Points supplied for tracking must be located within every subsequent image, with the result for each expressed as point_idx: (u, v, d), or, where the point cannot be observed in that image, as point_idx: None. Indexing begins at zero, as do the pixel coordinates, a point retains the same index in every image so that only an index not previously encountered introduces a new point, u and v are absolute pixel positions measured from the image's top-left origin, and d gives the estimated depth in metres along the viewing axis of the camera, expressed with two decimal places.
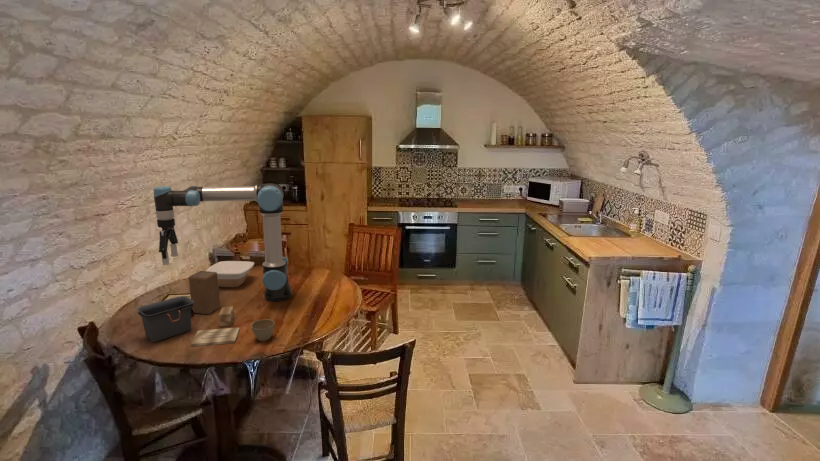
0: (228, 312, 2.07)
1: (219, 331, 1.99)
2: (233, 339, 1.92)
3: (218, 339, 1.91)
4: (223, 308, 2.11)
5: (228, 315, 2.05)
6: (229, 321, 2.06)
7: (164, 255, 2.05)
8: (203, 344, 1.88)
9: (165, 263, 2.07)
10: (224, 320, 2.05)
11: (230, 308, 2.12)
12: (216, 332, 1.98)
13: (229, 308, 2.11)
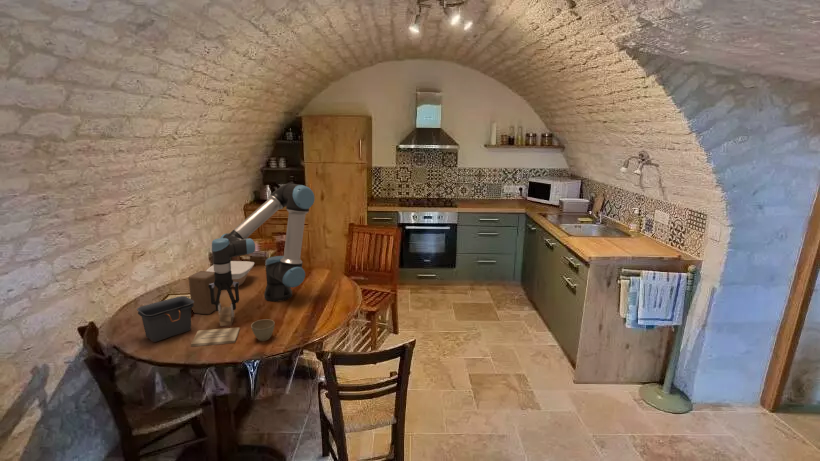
0: (228, 312, 2.07)
1: (219, 331, 1.99)
2: (233, 339, 1.92)
3: (218, 339, 1.91)
4: (223, 308, 2.11)
5: (228, 315, 2.05)
6: (229, 321, 2.06)
7: None
8: (203, 344, 1.88)
9: None
10: (224, 320, 2.05)
11: (230, 308, 2.11)
12: (216, 332, 1.98)
13: (229, 308, 2.11)
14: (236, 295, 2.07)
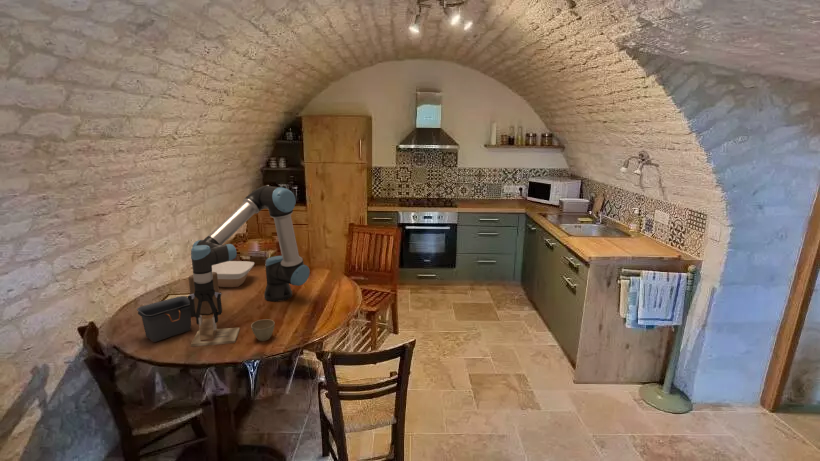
0: (209, 325, 1.91)
1: (219, 331, 1.99)
2: (233, 339, 1.92)
3: (218, 339, 1.91)
4: (204, 320, 1.95)
5: (209, 328, 1.89)
6: (210, 334, 1.90)
7: None
8: (203, 344, 1.88)
9: None
10: (205, 333, 1.89)
11: (212, 320, 1.95)
12: (216, 332, 1.98)
13: (211, 320, 1.95)
14: (218, 307, 1.91)
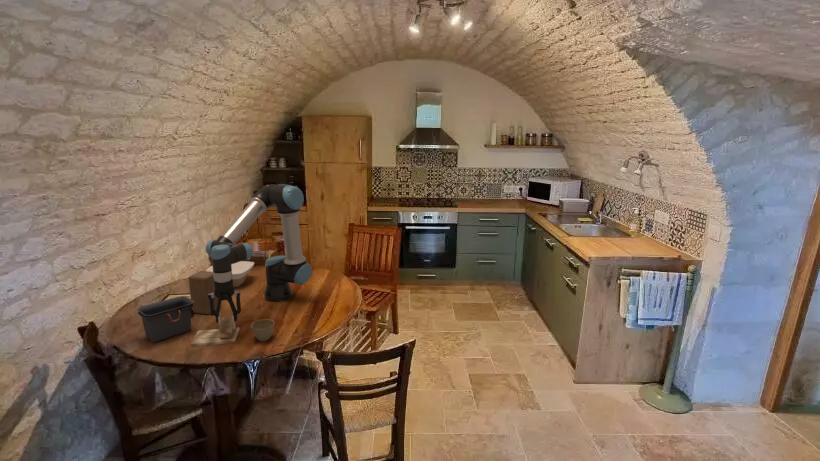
0: (229, 323, 1.93)
1: None
2: (233, 339, 1.92)
3: (218, 339, 1.91)
4: (224, 318, 1.97)
5: (229, 326, 1.91)
6: (230, 332, 1.92)
7: (216, 319, 1.93)
8: (203, 344, 1.88)
9: None
10: (224, 331, 1.91)
11: (231, 318, 1.97)
12: (216, 332, 1.98)
13: (230, 318, 1.97)
14: (238, 306, 1.93)
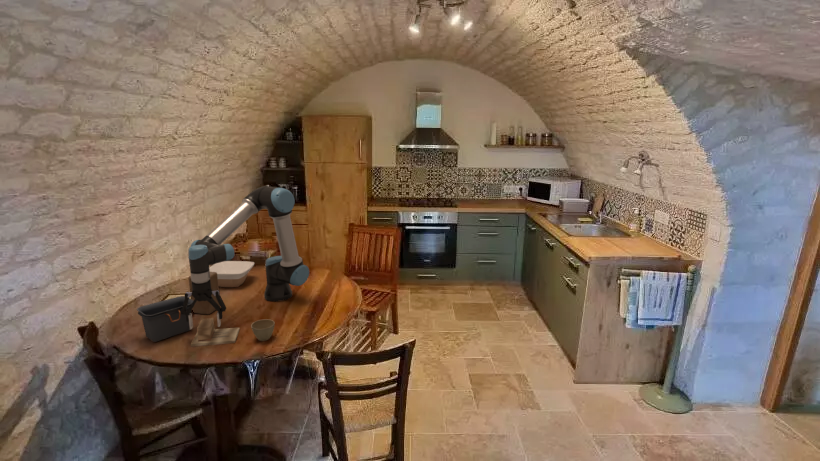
0: (207, 325, 1.91)
1: (219, 331, 1.99)
2: (233, 339, 1.92)
3: (218, 339, 1.91)
4: (202, 320, 1.95)
5: (207, 328, 1.89)
6: (208, 334, 1.90)
7: None
8: (203, 344, 1.88)
9: None
10: (202, 333, 1.89)
11: (210, 320, 1.95)
12: (216, 332, 1.98)
13: (209, 320, 1.95)
14: (220, 304, 1.91)
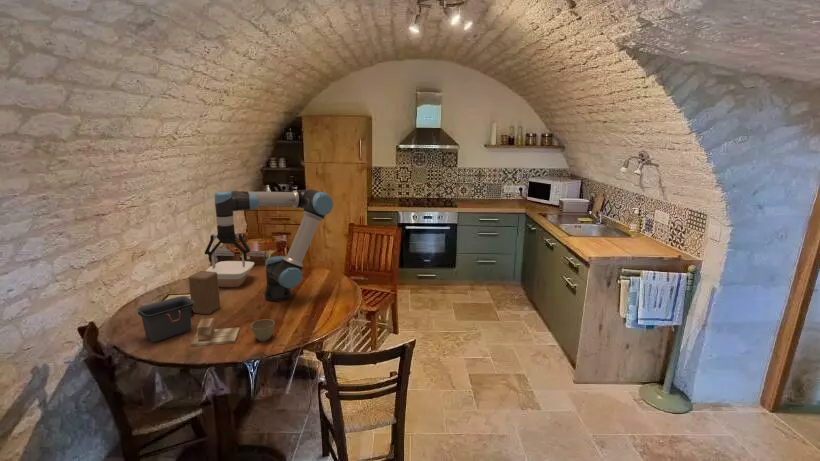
0: (207, 325, 1.91)
1: (219, 331, 1.99)
2: (233, 339, 1.92)
3: (218, 339, 1.91)
4: (202, 320, 1.95)
5: (207, 328, 1.89)
6: (208, 334, 1.90)
7: None
8: (203, 344, 1.88)
9: None
10: (202, 333, 1.89)
11: (210, 320, 1.95)
12: (216, 332, 1.98)
13: (209, 320, 1.95)
14: (244, 245, 2.08)
